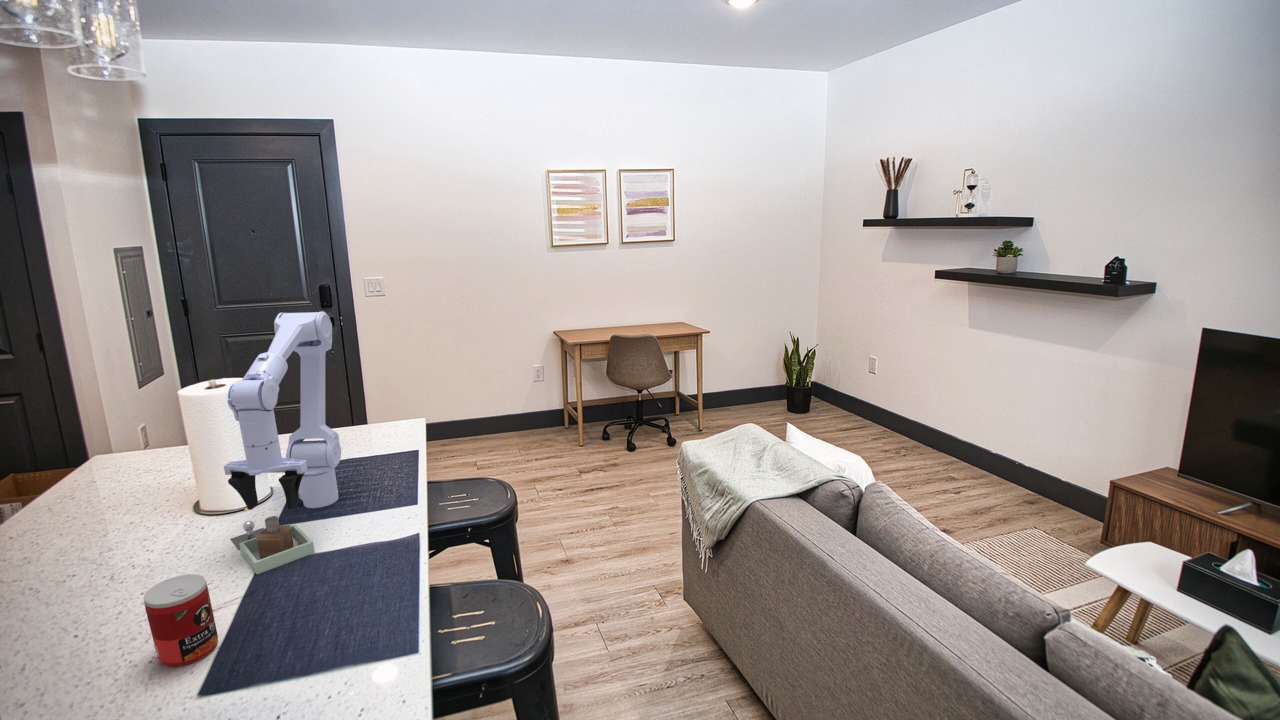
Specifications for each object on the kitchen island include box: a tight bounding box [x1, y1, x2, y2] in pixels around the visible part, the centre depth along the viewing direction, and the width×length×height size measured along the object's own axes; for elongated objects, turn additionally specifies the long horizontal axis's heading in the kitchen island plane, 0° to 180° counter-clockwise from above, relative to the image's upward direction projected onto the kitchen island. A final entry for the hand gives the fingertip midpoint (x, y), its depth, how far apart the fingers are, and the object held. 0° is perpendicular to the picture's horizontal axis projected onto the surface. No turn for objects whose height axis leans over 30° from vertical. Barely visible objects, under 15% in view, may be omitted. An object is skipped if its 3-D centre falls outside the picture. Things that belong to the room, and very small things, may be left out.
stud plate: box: [229, 520, 265, 551], centre depth 126 cm, size 6×6×5 cm
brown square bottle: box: [256, 515, 295, 560], centre depth 120 cm, size 4×4×8 cm
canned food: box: [143, 573, 219, 668], centre depth 96 cm, size 8×8×11 cm
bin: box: [239, 523, 315, 575], centre depth 121 cm, size 10×10×4 cm
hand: (273, 506), depth 121 cm, fingers open, 7 cm apart
